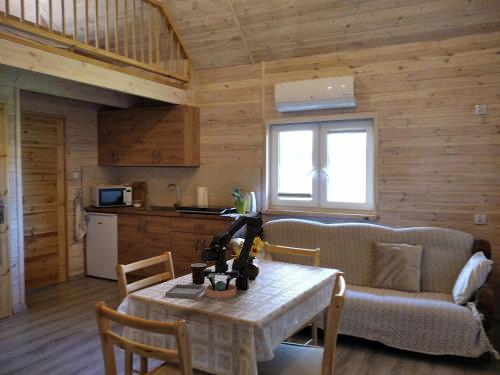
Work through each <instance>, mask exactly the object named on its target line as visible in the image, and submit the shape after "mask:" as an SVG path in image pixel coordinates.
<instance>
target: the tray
mask: <svg viewBox="0 0 500 375" xmlns="http://www.w3.org/2000/svg"><path fill="white" fill-rule="evenodd" d="M205 287H206V285H204V284H199V285H197V284H182V283H176V284H174V285H173V286H172V287H170V288H169V289H168V290H167V291H165V292H164V297H166V296H167V297H168V298H169V297H173V298H189V299H197V298H198V297H199V296H200V295H201V294H203V292H205ZM167 297H166V298H167Z"/></svg>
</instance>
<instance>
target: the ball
mask: <svg viewBox="0 0 500 375" xmlns="http://www.w3.org/2000/svg"><path fill="white" fill-rule="evenodd" d="M215 290H216V291H225V290H226V281H223V280H218V281H216V282H215Z"/></svg>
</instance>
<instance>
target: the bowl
mask: <svg viewBox="0 0 500 375" xmlns="http://www.w3.org/2000/svg"><path fill="white" fill-rule="evenodd" d="M237 291H238V290H237V287H236V286H235V284H232V283H229V287H228V290H227V291H226V290H225V291H216V290H214V289H213V287H212V284H211V283H210V284H208V285H205V290H204V296H206V297H208V298H211V299H229V298H233V297H235V296H236V295H237Z"/></svg>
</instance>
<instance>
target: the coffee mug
mask: <svg viewBox="0 0 500 375" xmlns="http://www.w3.org/2000/svg"><path fill="white" fill-rule="evenodd" d="M204 269H207V263H200V262H199V263H192V264H191V265H190V270H191V280H192V285H204V284H205V281H206V280H205V279H206V277H202V276H201V273H202V271H203V270H204Z"/></svg>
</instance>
